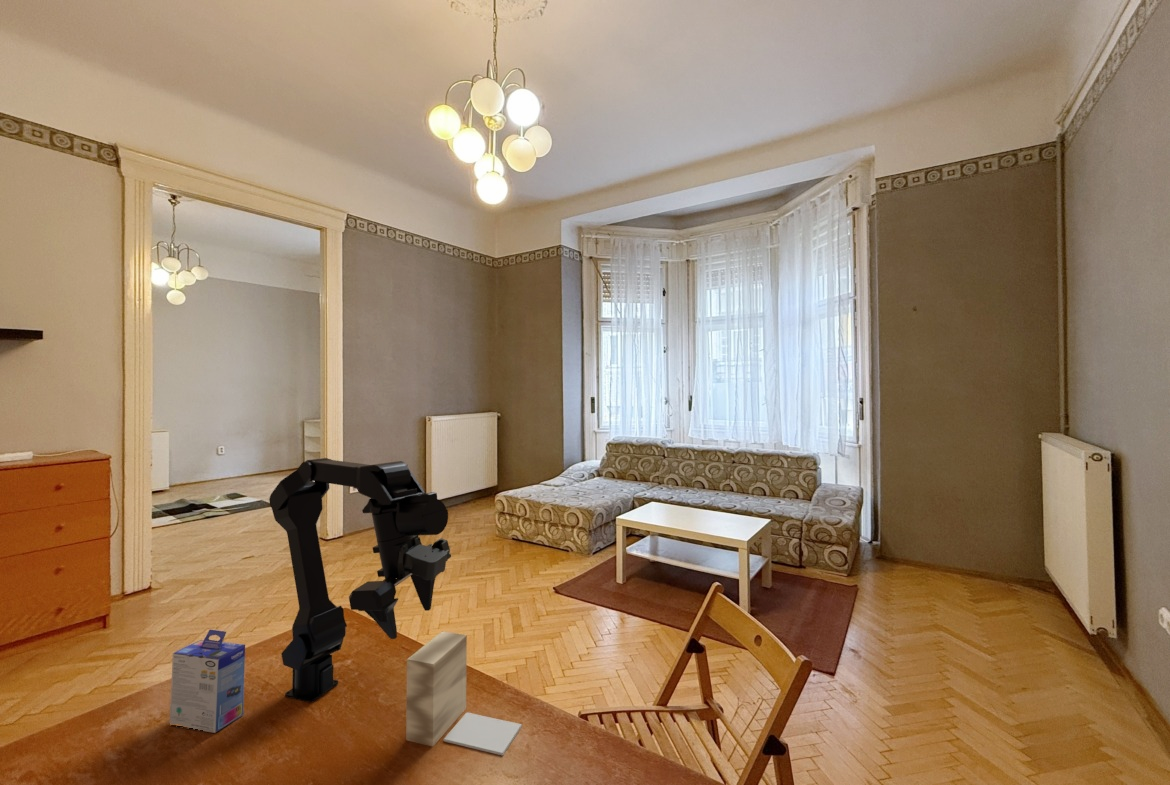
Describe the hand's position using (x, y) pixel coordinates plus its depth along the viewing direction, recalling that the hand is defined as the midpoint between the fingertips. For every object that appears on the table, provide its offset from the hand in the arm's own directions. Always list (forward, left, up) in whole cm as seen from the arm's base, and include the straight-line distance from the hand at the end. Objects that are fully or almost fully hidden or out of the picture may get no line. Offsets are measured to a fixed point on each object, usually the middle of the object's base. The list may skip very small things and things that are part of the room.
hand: (411, 623), depth 84 cm
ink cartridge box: (-33, -11, -17) cm, 38 cm away
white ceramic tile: (+14, 0, -16) cm, 21 cm away
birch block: (+5, 0, -16) cm, 17 cm away
